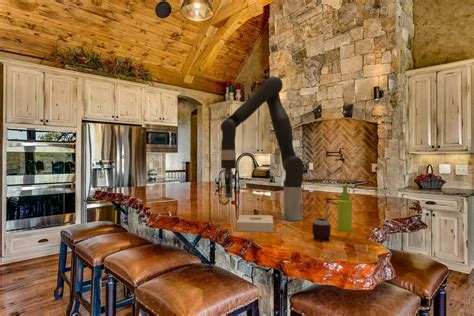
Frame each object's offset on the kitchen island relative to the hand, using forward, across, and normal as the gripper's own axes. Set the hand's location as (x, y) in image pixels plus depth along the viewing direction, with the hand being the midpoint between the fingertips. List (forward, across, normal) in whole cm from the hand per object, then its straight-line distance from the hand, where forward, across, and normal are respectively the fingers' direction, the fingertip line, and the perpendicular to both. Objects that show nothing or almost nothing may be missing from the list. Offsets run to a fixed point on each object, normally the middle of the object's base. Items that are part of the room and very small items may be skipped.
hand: (228, 192), depth 149 cm
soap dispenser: (+15, -11, -55) cm, 58 cm away
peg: (+2, 0, 0) cm, 2 cm away
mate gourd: (+15, -28, -41) cm, 52 cm away
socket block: (+15, -11, -14) cm, 23 cm away
